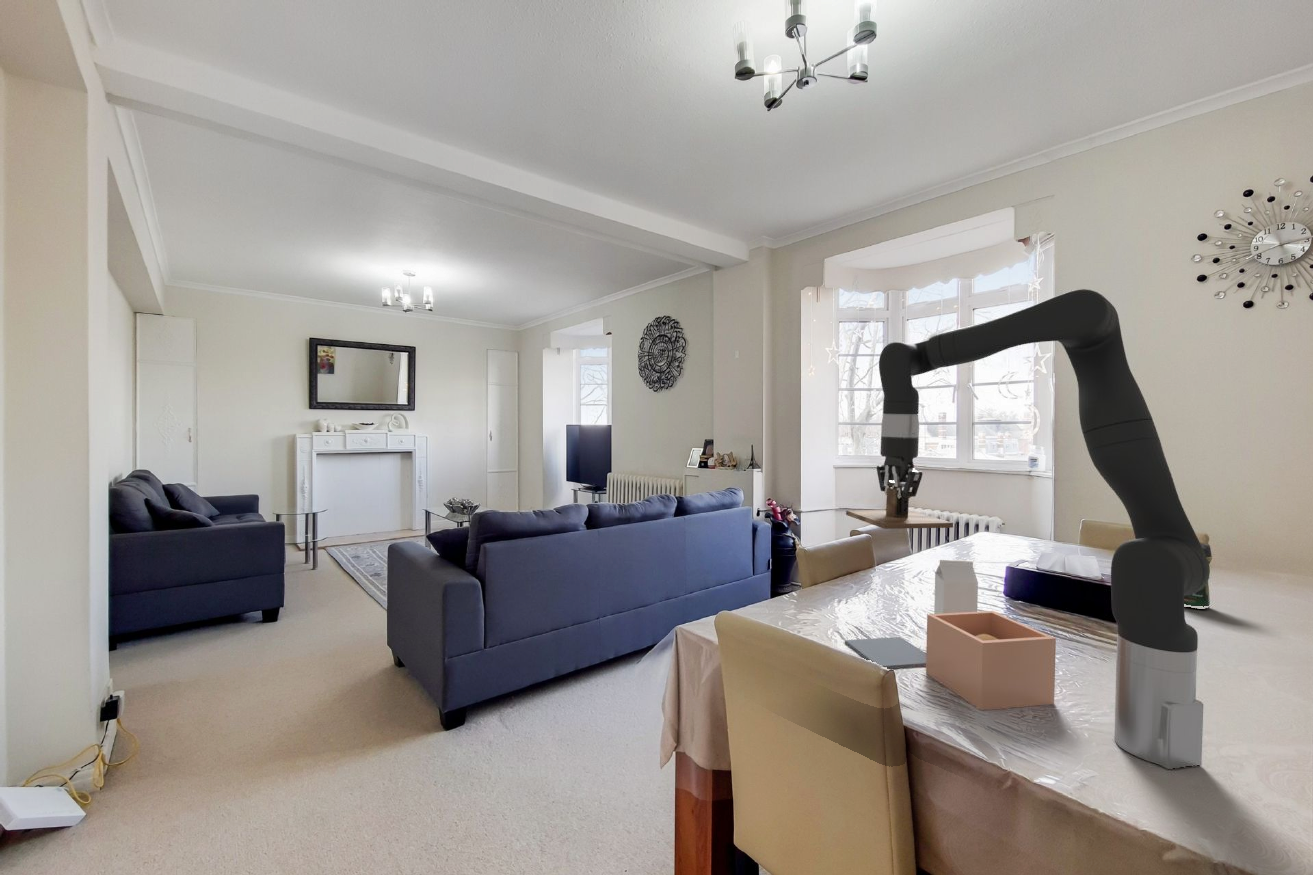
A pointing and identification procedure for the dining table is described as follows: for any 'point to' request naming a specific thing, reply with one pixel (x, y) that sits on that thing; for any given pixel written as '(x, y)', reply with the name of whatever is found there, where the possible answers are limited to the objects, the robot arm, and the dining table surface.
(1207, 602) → the coffee jar
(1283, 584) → the dining table surface
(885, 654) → the mat
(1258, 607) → the dining table surface
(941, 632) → the tan open box
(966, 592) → the milk carton
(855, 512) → the lid
